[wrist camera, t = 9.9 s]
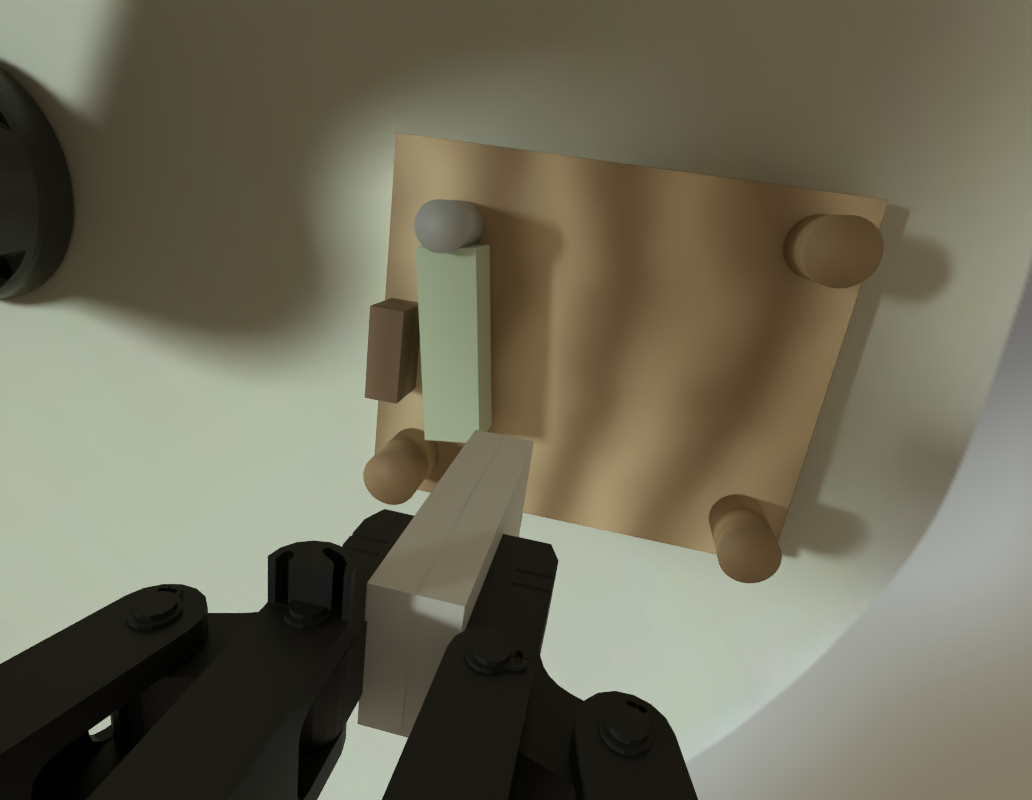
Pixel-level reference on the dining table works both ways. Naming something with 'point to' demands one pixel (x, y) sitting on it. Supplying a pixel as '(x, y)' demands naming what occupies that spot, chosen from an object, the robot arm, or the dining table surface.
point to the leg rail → (453, 320)
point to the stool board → (632, 339)
